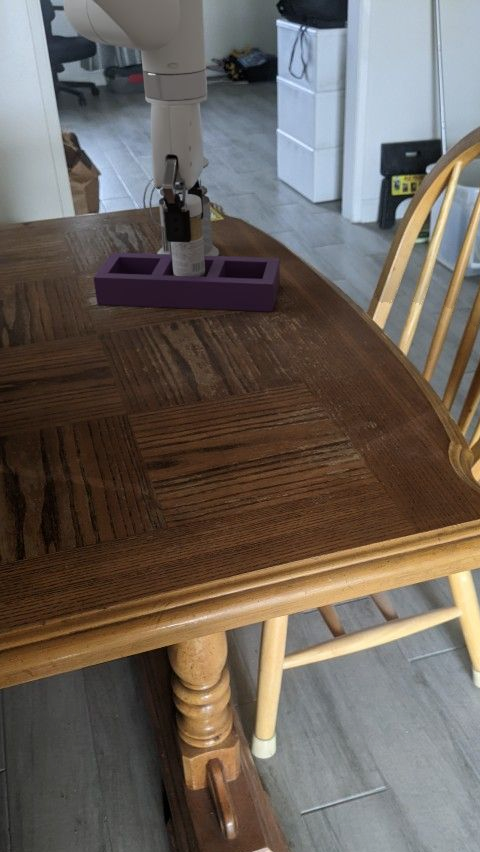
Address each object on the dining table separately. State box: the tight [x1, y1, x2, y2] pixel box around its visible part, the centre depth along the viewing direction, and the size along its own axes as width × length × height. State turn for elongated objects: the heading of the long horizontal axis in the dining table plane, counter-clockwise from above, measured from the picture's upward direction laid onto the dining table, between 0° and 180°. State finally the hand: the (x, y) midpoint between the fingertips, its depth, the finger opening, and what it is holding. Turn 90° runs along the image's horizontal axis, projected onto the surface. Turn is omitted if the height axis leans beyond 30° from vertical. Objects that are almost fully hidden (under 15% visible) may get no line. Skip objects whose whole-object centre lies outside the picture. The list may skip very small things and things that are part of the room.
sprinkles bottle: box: [171, 194, 205, 277], centre depth 106 cm, size 5×5×14 cm
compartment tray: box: [93, 251, 281, 313], centre depth 109 cm, size 9×24×4 cm, turn 84°
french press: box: [142, 156, 220, 256], centre depth 115 cm, size 10×12×25 cm
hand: (185, 229), depth 105 cm, fingers open, 8 cm apart
